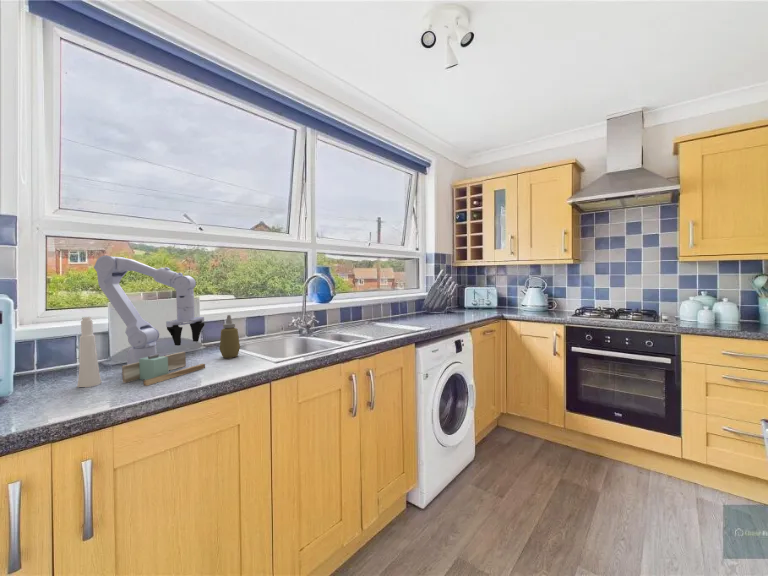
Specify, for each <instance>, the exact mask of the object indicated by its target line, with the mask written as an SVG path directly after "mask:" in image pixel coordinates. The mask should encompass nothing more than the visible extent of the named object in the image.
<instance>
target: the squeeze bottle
mask: <svg viewBox="0 0 768 576" xmlns="http://www.w3.org/2000/svg"><path fill="white" fill-rule="evenodd" d="M222 327H223V328H222V329H221V330H220V340H219V351H220V354H221V355H222V358H223V359H231V358H236V357H238V356H239V352H240V350H241V344H240V339H239V330H238V328H236V323H235V322H233V320H232V316H231V314H228V315H226V320H225V323H223V324H222Z"/></svg>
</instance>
